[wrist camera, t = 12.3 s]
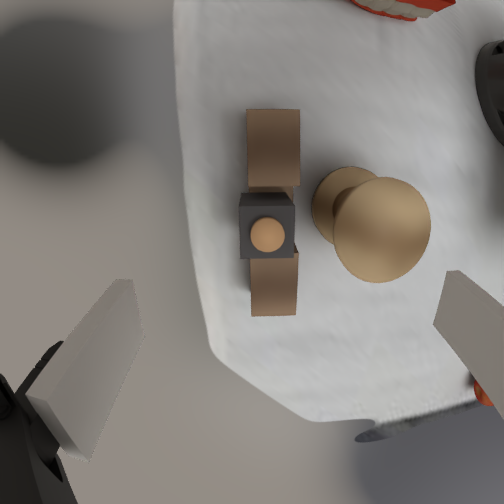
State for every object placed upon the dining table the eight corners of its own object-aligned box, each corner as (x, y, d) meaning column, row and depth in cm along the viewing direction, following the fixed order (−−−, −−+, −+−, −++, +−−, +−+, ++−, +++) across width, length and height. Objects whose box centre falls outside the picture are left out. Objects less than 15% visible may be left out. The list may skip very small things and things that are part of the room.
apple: (490, 380, 40) (509, 406, 32) (460, 391, 40) (479, 421, 32) (505, 348, 37) (528, 374, 29) (476, 358, 37) (499, 387, 30)
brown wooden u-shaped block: (247, 113, 26) (246, 106, 21) (290, 112, 26) (299, 106, 21) (251, 292, 32) (251, 318, 27) (289, 290, 32) (295, 317, 27)
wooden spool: (312, 165, 27) (338, 175, 19) (388, 169, 27) (435, 182, 19) (310, 245, 30) (331, 285, 22) (382, 244, 30) (421, 280, 22)
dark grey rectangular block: (242, 235, 29) (240, 263, 22) (241, 192, 27) (238, 208, 21) (285, 234, 28) (295, 262, 22) (285, 192, 27) (296, 208, 21)
